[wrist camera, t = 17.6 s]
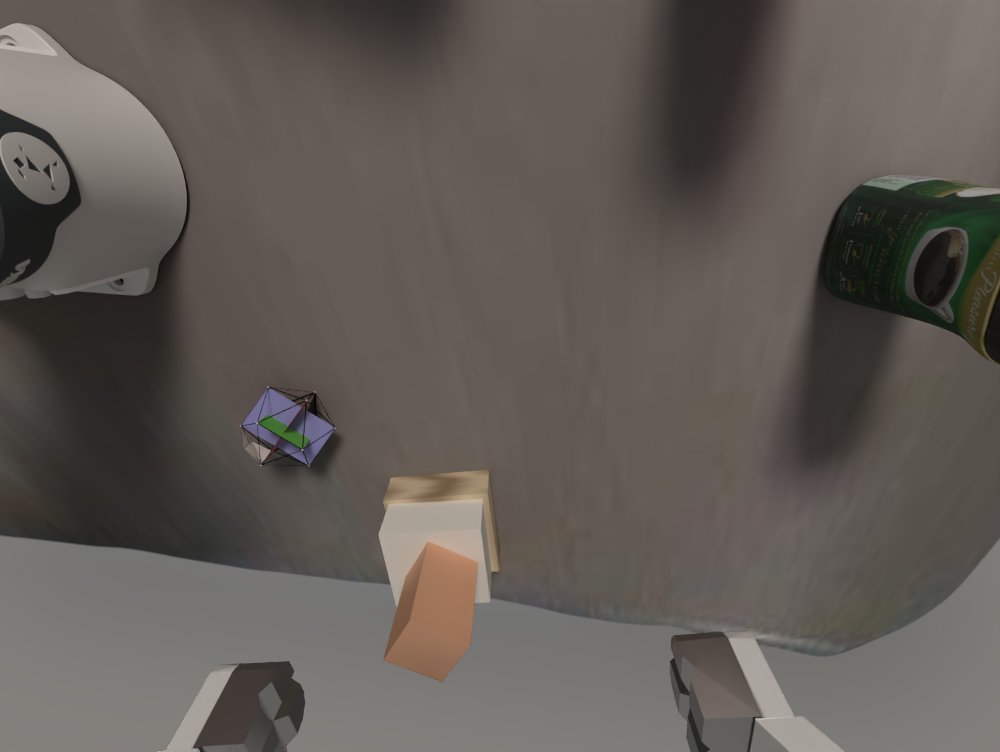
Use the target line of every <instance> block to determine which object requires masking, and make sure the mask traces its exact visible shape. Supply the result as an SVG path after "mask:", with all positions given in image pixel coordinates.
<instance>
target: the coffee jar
mask: <svg viewBox="0 0 1000 752" xmlns="http://www.w3.org/2000/svg"><path fill="white" fill-rule="evenodd" d="M824 276H825V282H826V285H827V287H828V289H829V291H830V292H831V293H832V294H833V295H835V296H836V297H838V298H840V299H843V300H846V301H849V302H852V303H855V304H858V305H862V306H865V307H869V308H873V309H877V310H881V311H886V312H890V313H894V314H898V315H902V316H905V317H909V318H913V319H916V320H920V321H923V322H926V323H929V324H932V325H935V326H938V327H941V328H943V329H946V330H948V331H951V332H953V333H955V334H957V335H959V336H960V337H962V338H963V339H965V340H966V341H967V342H968V343H969V344H970V345H971V346H972V347H973V348H974V349H975V350H976V351H977V352H978V353H979V354H980V355H982V356H983V357H984V358H986V359H988V360H989V361H991V362H993V363H995V364H997V365H1000V189H995V188H989V187H984V186H979V185H974V184H969V183H964V182H959V181H954V180H949V179H944V178H937V177H930V176H918V175H892V176H884V177H879V178H875V179H872V180H869V181H867V182H865V183H863V184H861V185H860V186H858V187H857V188H856V189H855V190H854V191H853V192H852V193H851V194H850V195H849V196H848V197H847V198H846V200H845V201H844V203H843V205H842V207H841V209H840V212H839V214H838V217H837V220H836V222H835V226H834V228H833V232H832V235H831V239H830V243H829V247H828V252H827V258H826V264H825V275H824Z"/></svg>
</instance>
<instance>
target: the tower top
mask: <svg viewBox="0 0 1000 752" xmlns="http://www.w3.org/2000/svg"><path fill="white" fill-rule="evenodd" d="M379 539H380V543H381V547H382V551H383V555H384V559H385V563H386V567H387V571H388V575H389V579H390V583H391V587H392V591H393V595H394V599H395V603H396V607H398V603H399V599H400V595H401V592H402V588H403V584H404V580H405V577H406V575H407V574H408V572H409V571H410V569H411V568H412V566H413V564H414V563H415V561H416V560H417V558H418V556H419V555H420V553H421V552H422V550H423V548H424V547H425V545H426V544H427V542H431V543H433V544H435V545H438V546H440V547H442V548H445V549H447V550H450V551H452V552H454V553H457V554H459V555H461V556H464V557H466V558H468V559H471V560H473V561H475V562H478V572H477V583H476V593H475V603H488V602H489V603H490V597H491V571H492V569H491V560H490V552H489V544H488V536H487V528H486V520H485V512H484V504H483V499H475V500H458V501H440V502H422V503H405V504H389V505H388V508H387V511H386V514H385V517H384V520H383V523H382V526H381V529H380V532H379Z"/></svg>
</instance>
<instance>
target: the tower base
mask: <svg viewBox="0 0 1000 752" xmlns="http://www.w3.org/2000/svg"><path fill="white" fill-rule="evenodd" d="M475 499H483V504H484V512H485V520H486V528H487V536H488V544H489V552H490V560H491V569H492V571H491V572H496V571H499V558H500V543H499V536H498V529H497V522H496V515H495V508H494V501H493V494H492V487H491V480H490V473H489V470H481V471H469V472H456V473H444V474H431V475H419V476H407V477H394V478H391V480H390V482H389V485H388V488H387V491H386V494H385V497H384V499H383V504H384V507H385V511H387V508H388V505H389V504H405V503H422V502H440V501H458V500H475Z"/></svg>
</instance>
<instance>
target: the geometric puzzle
mask: <svg viewBox="0 0 1000 752" xmlns="http://www.w3.org/2000/svg"><path fill="white" fill-rule="evenodd" d="M272 389H273V387H269V386H268V387H267V390H266V391H265V392H264V394H263V395H262V397H261V398H260V399H259V401H258V402H257V404H256V405H255V406H254V408H253V409H252V411H251V412H250V414H249V415H248V416H247V418H246V419H245V421H244V422H243V423H242V425H240V427H241V433H242V441H243V449H244V450H245V451H246V452H247V453H248V454H249V455H250V456H251V458H253V459H255V460H256V461H257V462H258V463H259V464H260V466H262V465H264V464H266V463H264V462H265V461H266V460H267V458H268V457H269V456H270V455H271V454H272V453H273V452H275V451H276V450H278V449H281V450H283V451H285V452H286V453H288V454H289V455H292V456H293V457H295V458H297V459H298V460H300V461H302V462H301V463H303V462H304V463H303V464H306V465H285V466H310V464H311V462H312V461H313V459H314V458H315V457H316V455H317V454H318V452H319V451H320V450H321V448H322V447H323V445H324V444H325V442H326V441H327V440H328V438H329V437H330V435H331V434H332V433H333V431H334V430H335V429H336V427H335V426H333V425H334V424H333V425H332V424H331V423H330V422H329V421H328V420H327V419H326V418H325V417H324V416H323V415H322V414H321V413H319V412H318V411H317V410H316V399H315V394H316V392H313V393H311V394H312V395H311V394H308V395H311V396H310V397H309V398H308V399H307V400H305V399H302V398H303V397H306V396H308V395H306V396H303V397H301V398H299V397H297V398H298V399H302V400H305V401H306V402H305V401H303V402H305V403H304V405H303V406H302V407H300V406H299V404H301V403H303V402H301V403H299V404H295V403H294V402H293V401H296V400H298V399H296V400H293V401H290V400H289V399H287V398H285V397H284V396H282V395H281V394H279V393H277V392H276V391H274V390H276V389H274V390H272ZM279 389H281V388H279ZM287 390H290V389H287ZM277 391H279V390H277ZM296 391H299V390H296ZM280 392H282V391H280ZM305 392H308V391H305ZM282 393H285V392H282ZM285 394H288V393H285ZM313 394H314V401H315V408H314V407H313V406H312V405H311V404H310V403H309V402H308V401H309V400H310V399H311V397H312V396H313ZM288 395H290V394H288ZM291 396H293V395H291ZM316 396H317V395H316ZM294 397H296V396H294ZM317 398H318V397H317ZM319 401H320V400H319ZM307 403H309V404H310V405H311V406H312V407H313V408H314V409H315V415H313V414H312V413H310V412H308V411H307V410H306V408H307ZM320 403H321V402H320ZM322 406H323V405H322ZM304 407H305V409H303V408H304ZM323 408H324V407H323ZM324 410H325V409H324ZM316 411H317V412H318V413H319V414H320V415H321V416H323V417H324V418H325V419H326V420H327V421H328V422H329V423H330V424H331V425H332V426H331V425H330V424H328V423H326V422H325V421H323V420H322V419H320V418H318V417H317V416H316ZM326 413H327V412H326ZM327 415H328V414H327ZM328 417H329V416H328ZM330 420H331V419H330ZM331 422H332V421H331ZM243 429H245V430H246V429H247V430H248V431H247V430H246V431H247V432H249V431H250V432H252V433H254V434H255V435H257V436H258V439H257V438H256V437H255V436H254V435H252V434H251V433H250V432H249V433H250V434H251V435H252V436H254V437H255V438H256V439H257V440H258V444H257V443H255V442H253V441H251V439H250V438H249V437H248V435H247V434H246V432H245V431H244V430H243ZM259 437H261V438H262V439H264V440H266V441H267V442H269V443H271V444H273V449H272V450H271V449H270V448H269V447H268V446H266V445H265V444H264V443H263V442H261V441H260V440H259ZM259 441H260V442H261V443H263V444H264V445H265V446H266V447H268V448H269V449H270V450H269V449H267V448H265V447H263V446H261V445H259ZM276 447H278V449H276V450H274V449H275V448H276ZM275 453H277V452H275ZM278 454H280V453H278ZM281 455H282V454H281ZM287 456H288V455H286V457H287ZM283 457H285V455H283ZM283 457H281V458H283ZM288 458H290V457H288ZM278 459H280V458H278ZM291 459H293V458H291ZM275 460H277V459H275ZM275 460H272V461H275ZM293 460H295V459H293ZM298 460H296V461H298ZM272 461H270V462H272ZM300 461H298V462H300ZM263 463H264V464H263ZM267 463H269V462H267Z"/></svg>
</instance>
